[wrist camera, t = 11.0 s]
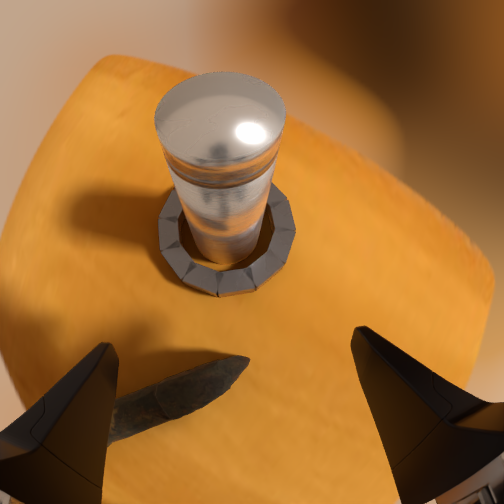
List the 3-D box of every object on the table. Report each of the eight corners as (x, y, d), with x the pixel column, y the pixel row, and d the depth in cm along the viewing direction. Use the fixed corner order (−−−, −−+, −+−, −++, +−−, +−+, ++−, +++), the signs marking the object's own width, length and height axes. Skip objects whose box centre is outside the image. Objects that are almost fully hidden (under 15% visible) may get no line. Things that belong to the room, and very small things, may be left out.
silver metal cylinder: (232, 277, 21) (230, 184, 9) (181, 239, 22) (128, 122, 9) (271, 227, 22) (309, 103, 10) (220, 193, 23) (213, 60, 11)
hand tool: (68, 455, 15) (41, 471, 11) (48, 416, 16) (17, 425, 12) (264, 389, 19) (273, 403, 14) (239, 342, 20) (241, 344, 15)
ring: (265, 314, 20) (268, 313, 19) (143, 267, 21) (136, 261, 19) (304, 199, 23) (308, 191, 22) (195, 163, 24) (193, 153, 22)
